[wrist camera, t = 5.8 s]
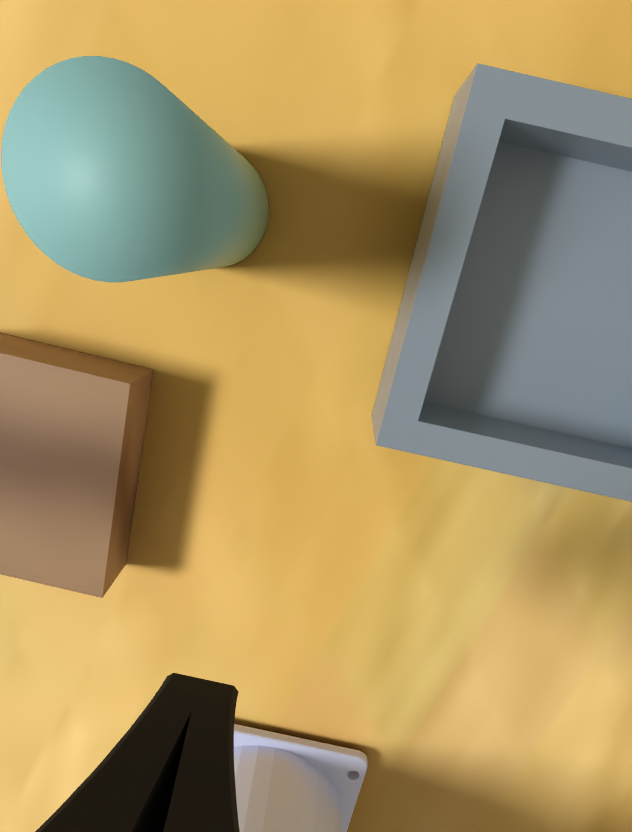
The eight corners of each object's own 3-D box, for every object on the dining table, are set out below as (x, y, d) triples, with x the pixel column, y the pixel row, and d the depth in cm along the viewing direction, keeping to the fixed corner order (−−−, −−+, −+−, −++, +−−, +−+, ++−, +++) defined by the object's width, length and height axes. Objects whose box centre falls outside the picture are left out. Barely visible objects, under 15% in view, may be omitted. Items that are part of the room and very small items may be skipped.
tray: (651, 477, 19) (703, 517, 16) (371, 415, 19) (375, 445, 16) (787, 172, 16) (880, 156, 13) (454, 95, 16) (477, 62, 13)
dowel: (258, 278, 18) (190, 301, 10) (149, 254, 18) (-3, 258, 10) (278, 159, 16) (221, 83, 9) (163, 133, 16) (4, 33, 9)
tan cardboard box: (129, 559, 21) (102, 597, 19) (-19, 524, 21) (-65, 559, 19) (157, 367, 19) (130, 383, 17) (-10, 327, 19) (-61, 338, 17)
